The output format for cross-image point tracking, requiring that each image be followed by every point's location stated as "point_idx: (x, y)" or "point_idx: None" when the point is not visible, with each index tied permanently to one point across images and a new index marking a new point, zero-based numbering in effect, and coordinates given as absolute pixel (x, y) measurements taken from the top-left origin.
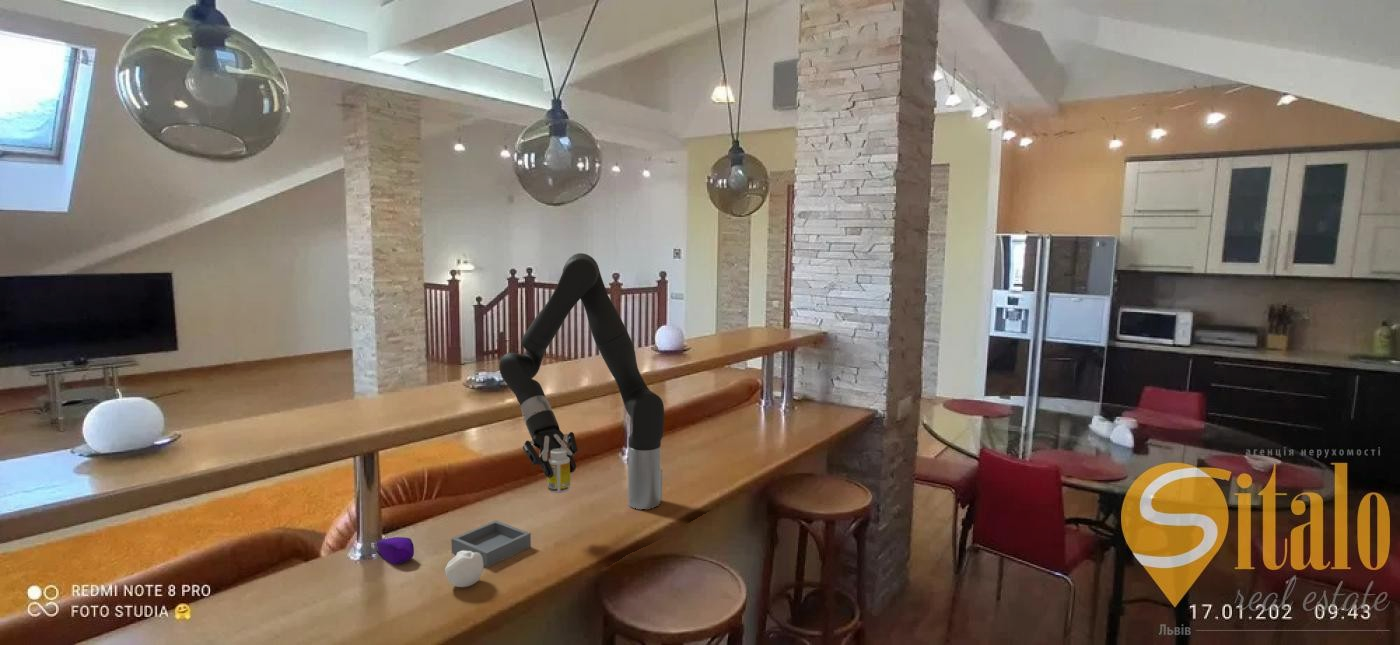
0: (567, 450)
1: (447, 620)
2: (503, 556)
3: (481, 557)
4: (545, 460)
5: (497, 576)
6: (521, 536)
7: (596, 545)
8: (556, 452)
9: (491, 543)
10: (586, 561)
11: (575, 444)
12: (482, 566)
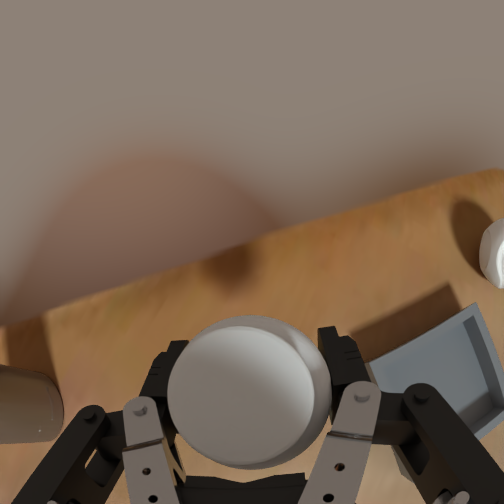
0: (142, 431)
1: (501, 187)
2: (431, 328)
3: (494, 236)
4: (359, 385)
5: (447, 267)
6: (395, 353)
7: (221, 289)
8: (277, 355)
9: None
10: (276, 233)
11: (60, 444)
12: (486, 235)
